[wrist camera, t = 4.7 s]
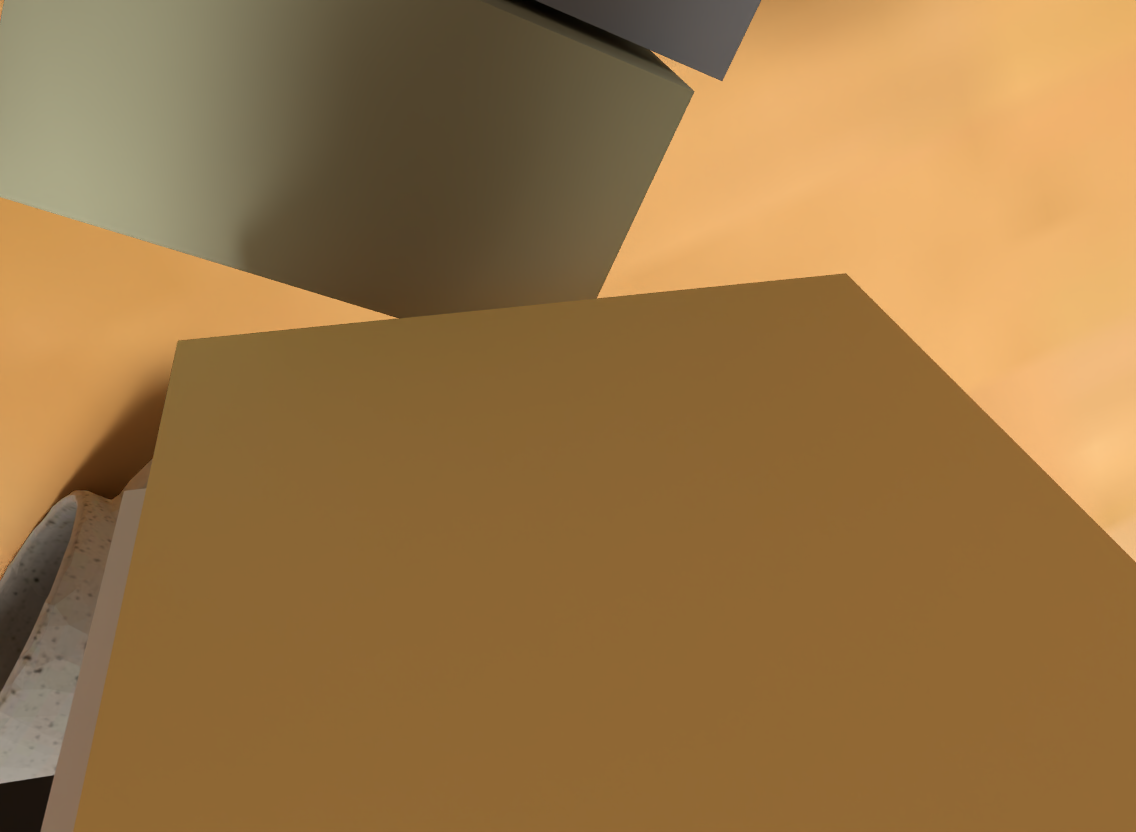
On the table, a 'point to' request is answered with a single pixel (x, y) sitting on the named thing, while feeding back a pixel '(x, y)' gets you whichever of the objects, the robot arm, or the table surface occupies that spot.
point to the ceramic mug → (50, 626)
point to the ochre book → (609, 585)
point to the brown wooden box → (359, 134)
